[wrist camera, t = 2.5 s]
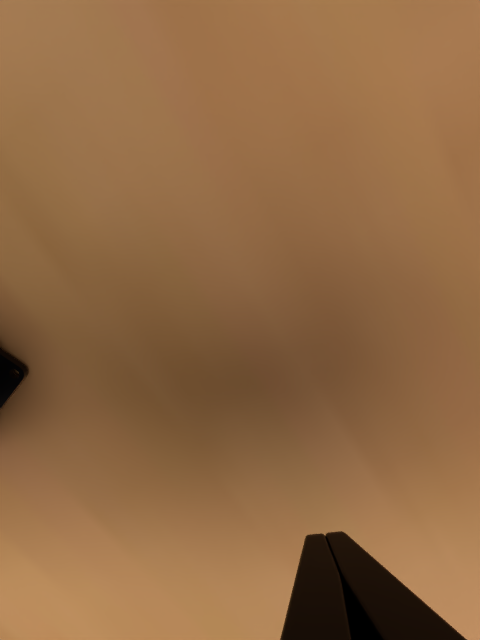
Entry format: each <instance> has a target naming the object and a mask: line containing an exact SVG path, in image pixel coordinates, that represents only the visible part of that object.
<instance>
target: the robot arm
mask: <svg viewBox="0 0 480 640" xmlns="http://www.w3.org/2000/svg"><path fill="white" fill-rule="evenodd" d="M13 369H15V370H17V371H18V372H19V375H16V374H15V373H14V372H13ZM27 374H28V370H27V368H26V366H25V365H24V364H22V363H21V362H20V361H18V360H17V359H15V358H14V357H12V356H11V355H9V354H8V353H6V352H5V351H4V350H2V349H1V348H0V410H1V409H2V407H3V406H4V405H5V404H6V402H7V401H8V400H9V398H10V397H11V396H12V395H13V393H14V392H15V391H16V389H17V388H18V387H19V386H20V384H21V383H22V382H23V380H24V379H25V378H26V376H27ZM280 640H466V639H465V638H464V637H463V636H462V635H461V634H460V633H458V632H457V631H456V630H455V629H454V628H453V627H452V626H450V625H449V624H448V623H447V622H446V621H445V620H444V619H442V618H441V617H440V616H439V615H438V614H437V613H436V612H434V611H433V610H432V609H431V608H430V607H429V606H428V605H427V604H425V603H424V602H423V601H422V600H421V599H420V598H419V597H417V596H416V595H415V594H414V593H413V592H412V591H411V590H409V589H408V588H407V587H406V586H405V585H404V584H403V583H401V582H400V581H399V580H398V579H397V578H396V577H395V576H393V575H392V574H391V573H390V572H389V571H388V570H387V569H386V568H384V567H383V566H382V565H381V564H380V563H379V562H378V561H376V560H375V559H374V558H373V557H372V556H371V555H370V554H368V553H367V552H366V551H365V550H364V549H363V548H362V547H360V546H359V545H358V544H357V543H356V542H355V541H354V540H352V539H351V538H350V537H349V536H348V535H347V534H346V533H344V532H342V531H340V532H330V533H327V534H326V535H324V534H312V535H307V536H306V538H305V541H304V545H303V549H302V553H301V557H300V562H299V566H298V570H297V574H296V578H295V582H294V586H293V590H292V594H291V598H290V602H289V606H288V610H287V614H286V618H285V623H284V627H283V631H282V635H281V639H280Z"/></svg>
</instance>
